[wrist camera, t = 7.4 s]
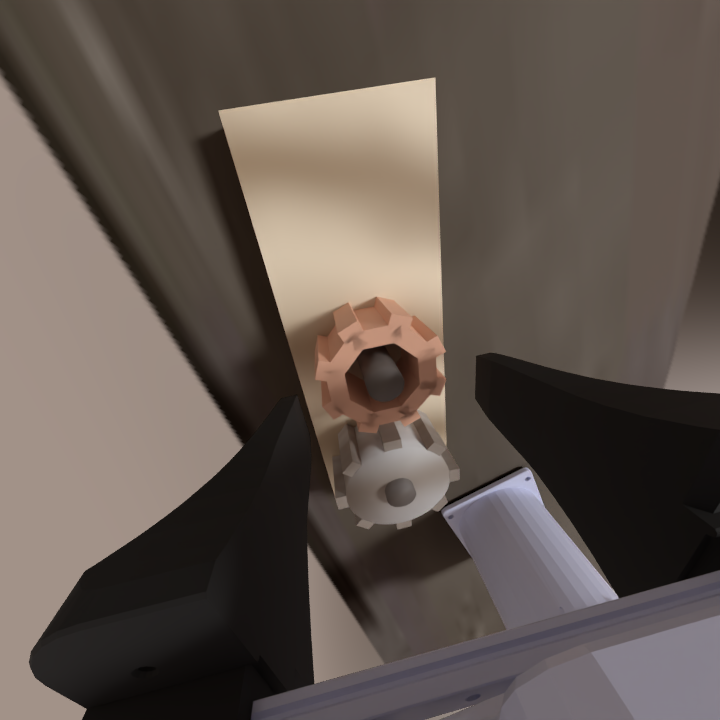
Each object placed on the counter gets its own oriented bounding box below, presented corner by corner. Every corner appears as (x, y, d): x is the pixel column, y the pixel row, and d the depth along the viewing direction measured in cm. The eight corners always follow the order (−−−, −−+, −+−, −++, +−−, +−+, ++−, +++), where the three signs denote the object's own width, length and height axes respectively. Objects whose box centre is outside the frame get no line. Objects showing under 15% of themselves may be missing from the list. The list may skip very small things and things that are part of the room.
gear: (419, 288, 14) (444, 302, 11) (425, 385, 16) (447, 416, 14) (304, 311, 13) (301, 332, 11) (329, 407, 16) (332, 443, 13)
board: (438, 457, 21) (472, 519, 17) (334, 482, 21) (340, 553, 16) (421, 94, 12) (487, 13, 7) (229, 124, 11) (174, 56, 7)
